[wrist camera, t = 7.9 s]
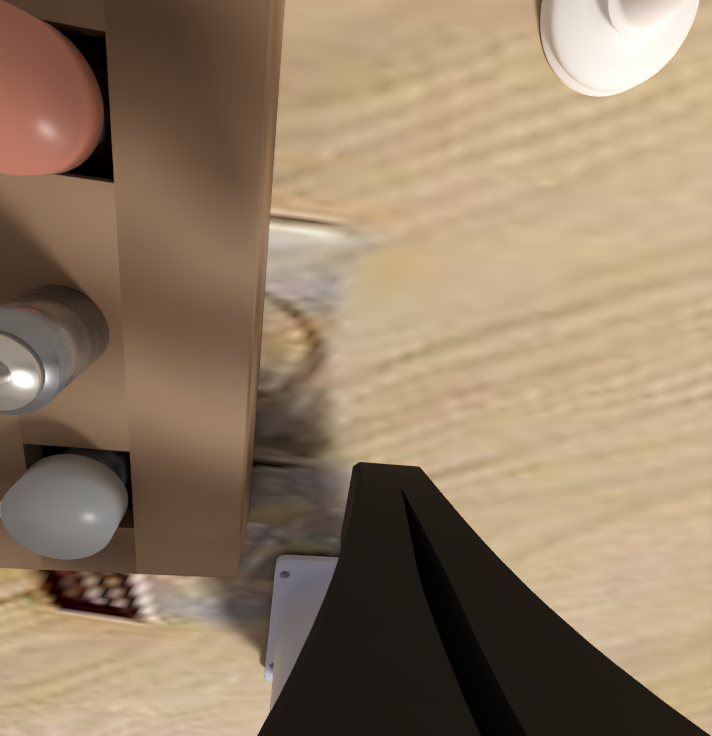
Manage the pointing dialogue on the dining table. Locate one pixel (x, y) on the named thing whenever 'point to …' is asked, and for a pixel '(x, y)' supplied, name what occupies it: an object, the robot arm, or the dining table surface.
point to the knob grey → (68, 502)
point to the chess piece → (612, 40)
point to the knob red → (47, 99)
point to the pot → (46, 345)
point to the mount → (159, 276)
